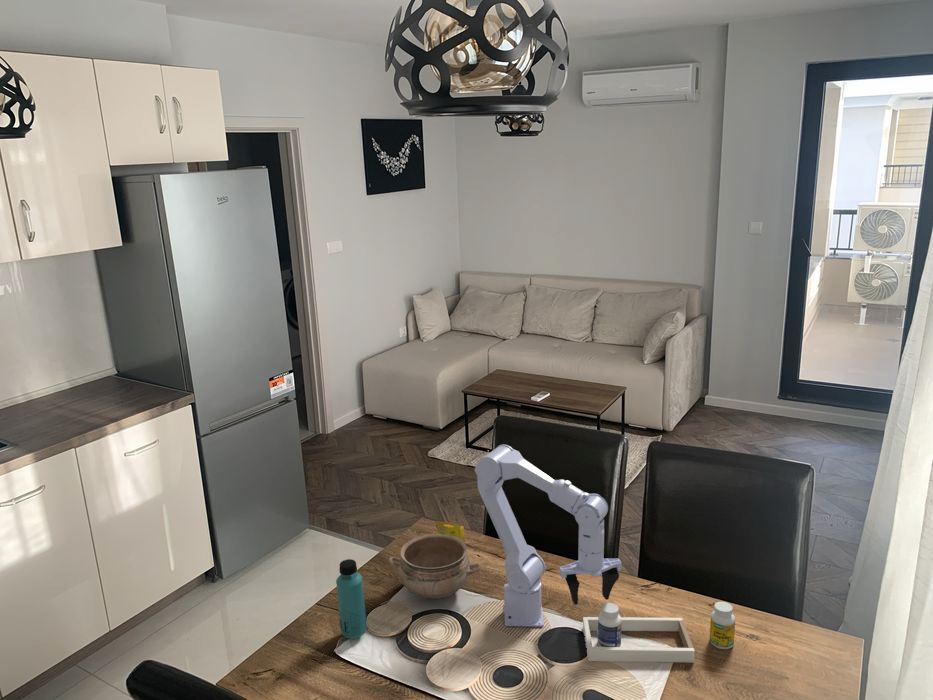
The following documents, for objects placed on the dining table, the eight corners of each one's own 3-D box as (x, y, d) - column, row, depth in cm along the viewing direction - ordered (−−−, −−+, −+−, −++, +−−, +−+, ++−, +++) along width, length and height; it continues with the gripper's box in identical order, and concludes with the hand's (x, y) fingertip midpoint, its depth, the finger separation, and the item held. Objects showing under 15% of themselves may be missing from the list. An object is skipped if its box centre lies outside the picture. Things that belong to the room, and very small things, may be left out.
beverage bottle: (372, 630, 173) (366, 557, 168) (359, 647, 167) (353, 572, 162) (348, 625, 175) (342, 553, 170) (335, 642, 169) (328, 567, 164)
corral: (588, 661, 160) (588, 649, 159) (583, 627, 171) (583, 617, 170) (694, 662, 158) (694, 650, 157) (681, 628, 170) (682, 617, 169)
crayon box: (465, 556, 204) (464, 520, 202) (462, 562, 202) (460, 525, 199) (442, 552, 207) (440, 516, 204) (438, 557, 204) (436, 521, 202)
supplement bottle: (733, 637, 166) (735, 601, 164) (734, 652, 161) (737, 615, 159) (709, 633, 168) (711, 598, 165) (709, 648, 163) (711, 611, 160)
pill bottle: (621, 653, 162) (622, 615, 160) (597, 650, 163) (597, 613, 161) (620, 638, 167) (621, 601, 165) (597, 635, 168) (598, 599, 166)
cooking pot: (488, 575, 195) (486, 535, 192) (475, 617, 177) (473, 573, 174) (401, 568, 200) (398, 529, 197) (380, 608, 182) (376, 565, 179)
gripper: (567, 560, 156) (566, 614, 160) (628, 552, 159) (626, 604, 163) (556, 545, 163) (556, 596, 166) (615, 536, 166) (613, 587, 169)
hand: (590, 599), depth 165 cm, fingers open, 7 cm apart
